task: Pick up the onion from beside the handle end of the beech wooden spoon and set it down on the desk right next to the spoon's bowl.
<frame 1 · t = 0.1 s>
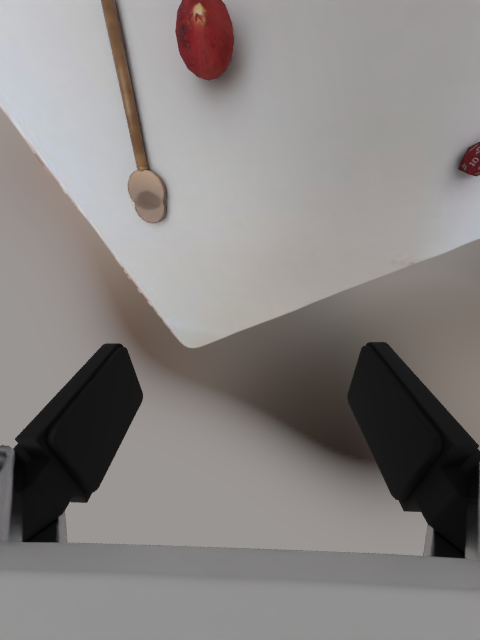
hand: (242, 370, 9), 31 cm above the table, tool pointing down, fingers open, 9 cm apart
onion: (210, 57, 26), on the table
spoon: (138, 137, 30), on the table
dice: (467, 159, 30), on the table
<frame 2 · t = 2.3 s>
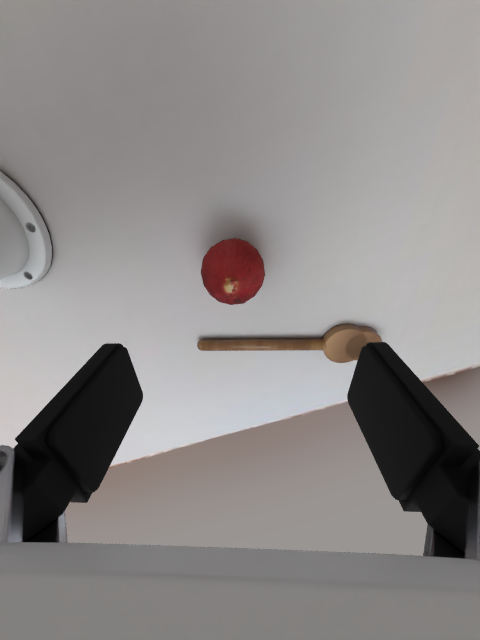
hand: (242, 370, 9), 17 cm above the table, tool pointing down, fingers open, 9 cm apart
onion: (235, 260, 24), on the table
spoon: (292, 341, 29), on the table
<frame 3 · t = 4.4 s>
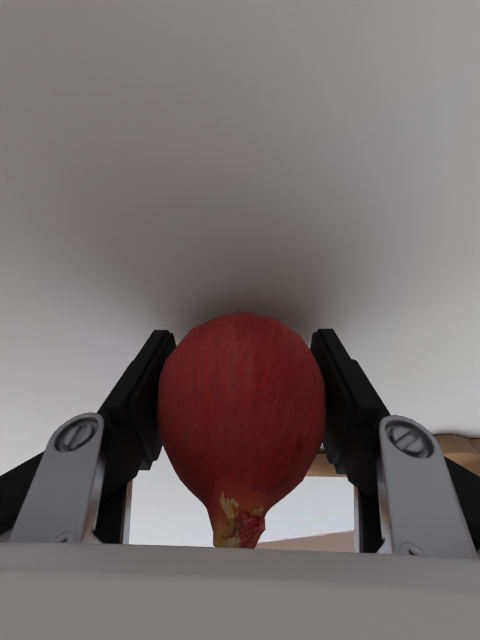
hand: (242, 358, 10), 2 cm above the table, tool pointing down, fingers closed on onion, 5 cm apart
onion: (243, 333, 12), on the table, touching gripper
spoon: (342, 454, 16), on the table
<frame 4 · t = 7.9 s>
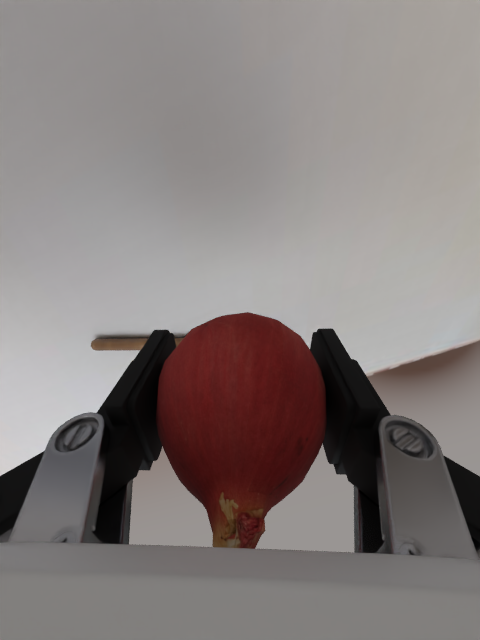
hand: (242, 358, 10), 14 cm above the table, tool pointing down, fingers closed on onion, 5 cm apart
onion: (243, 334, 12), point 12 cm above the table, touching gripper
spoon: (193, 340, 27), on the table
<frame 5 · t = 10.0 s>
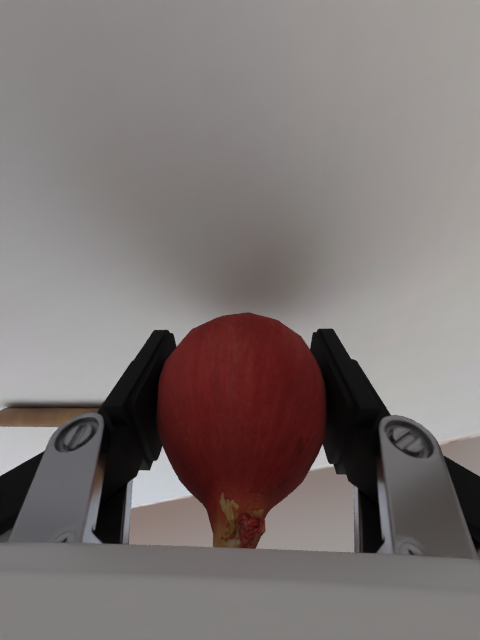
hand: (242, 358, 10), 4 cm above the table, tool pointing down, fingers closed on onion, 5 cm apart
onion: (243, 334, 12), point 2 cm above the table, touching gripper
spoon: (148, 410, 18), on the table
when the fingers open (2 cm above the table, at t = 11.2 s): onion stays where it is, on the table.
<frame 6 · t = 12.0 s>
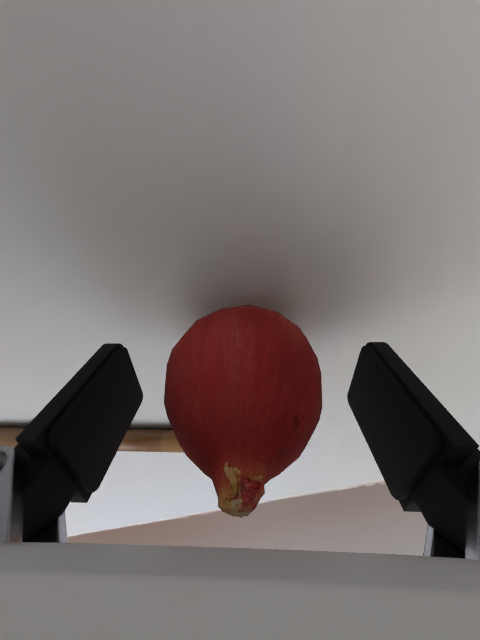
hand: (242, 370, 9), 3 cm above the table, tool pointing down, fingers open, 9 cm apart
onion: (244, 327, 12), on the table
spoon: (141, 431, 17), on the table
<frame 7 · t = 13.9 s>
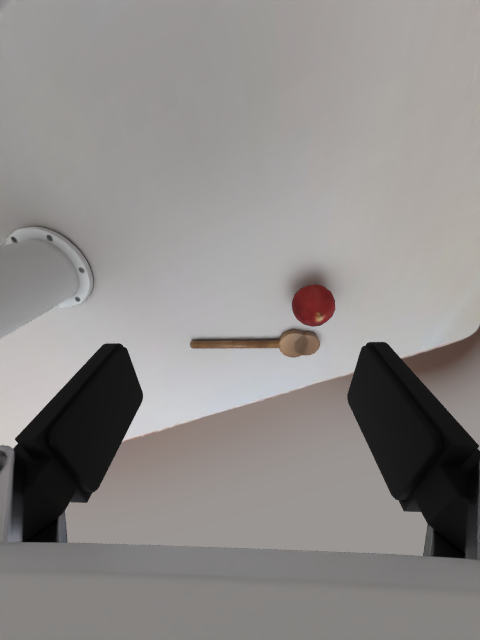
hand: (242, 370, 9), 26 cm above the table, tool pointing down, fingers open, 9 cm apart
onion: (307, 294, 35), on the table
spoon: (257, 341, 40), on the table
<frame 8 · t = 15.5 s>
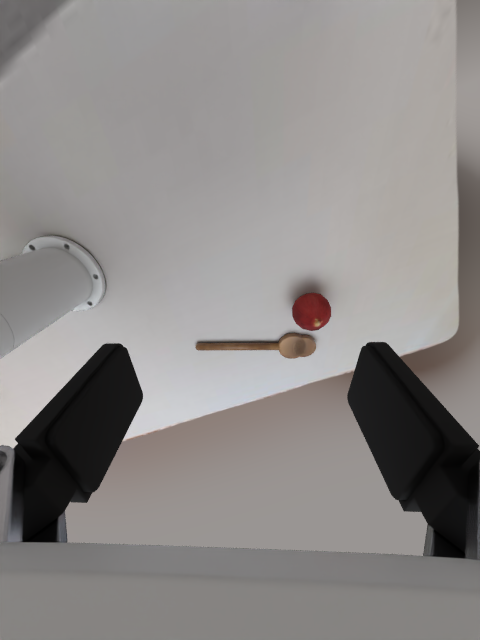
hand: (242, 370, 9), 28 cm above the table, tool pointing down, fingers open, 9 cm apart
onion: (305, 301, 39), on the table
spoon: (258, 344, 43), on the table
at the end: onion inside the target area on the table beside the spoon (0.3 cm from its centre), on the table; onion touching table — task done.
